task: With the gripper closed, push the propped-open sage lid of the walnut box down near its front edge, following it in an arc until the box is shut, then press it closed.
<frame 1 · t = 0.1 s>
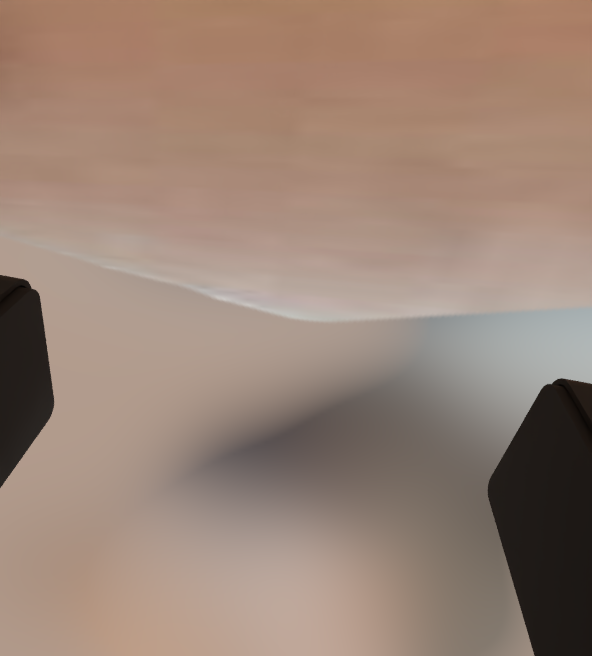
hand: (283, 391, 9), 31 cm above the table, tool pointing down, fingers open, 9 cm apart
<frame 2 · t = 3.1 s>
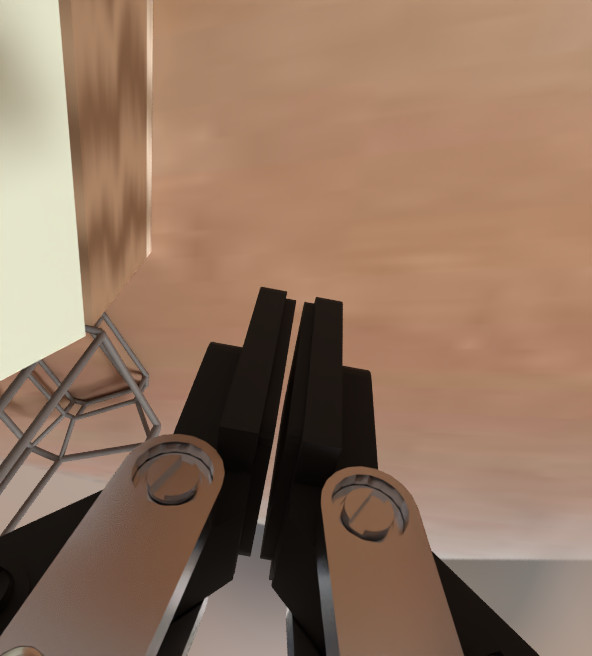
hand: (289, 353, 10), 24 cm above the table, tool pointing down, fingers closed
geometric lantern: (82, 363, 43), on the table
walnut box: (21, 63, 30), on the table
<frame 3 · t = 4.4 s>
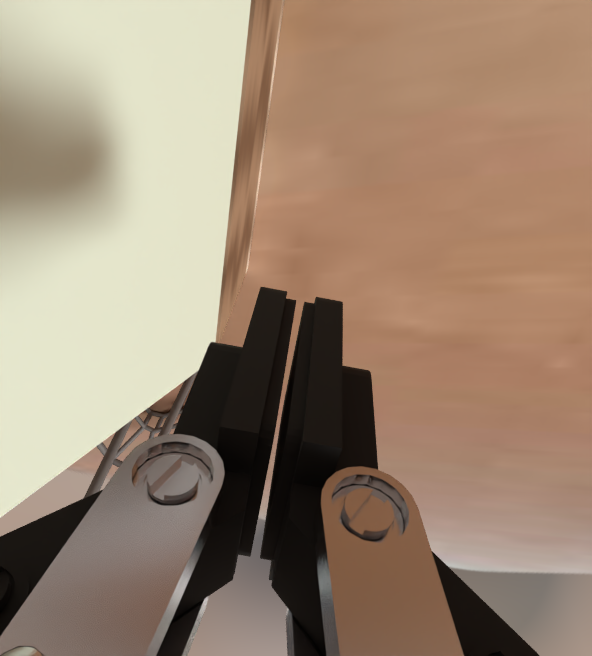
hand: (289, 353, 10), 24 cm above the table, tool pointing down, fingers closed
geometric lantern: (163, 376, 43), on the table
walnut box: (138, 81, 30), on the table
lid: (65, 189, 15), point 18 cm above the table, hinge at 65.0°
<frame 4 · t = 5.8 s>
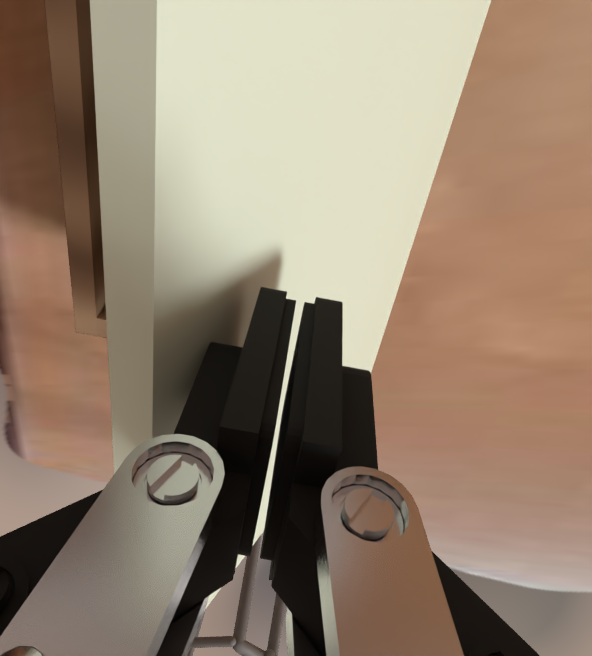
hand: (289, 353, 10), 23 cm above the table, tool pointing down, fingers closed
geometric lantern: (256, 402, 43), on the table
walnut box: (270, 114, 30), on the table
lid: (331, 255, 15), point 18 cm above the table, hinge at 65.0°, touching gripper
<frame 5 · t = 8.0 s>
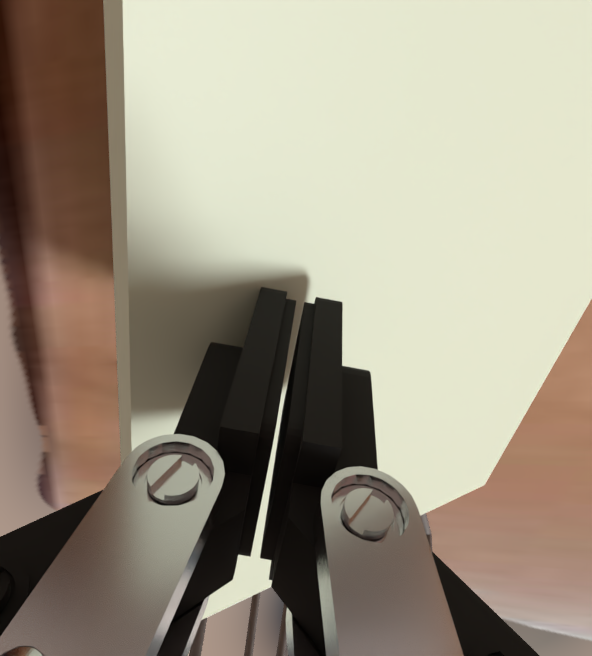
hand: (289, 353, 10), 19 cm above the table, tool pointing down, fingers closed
geometric lantern: (318, 455, 39), on the table
lid: (426, 300, 13), point 15 cm above the table, hinge at 34.8°, touching gripper
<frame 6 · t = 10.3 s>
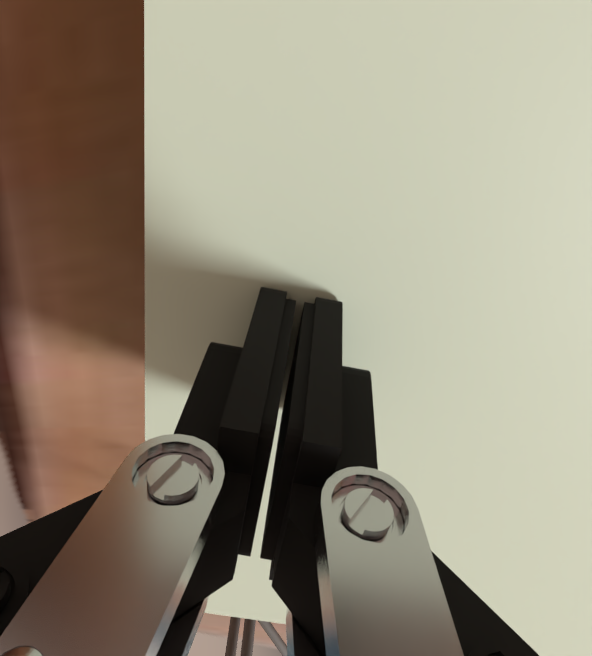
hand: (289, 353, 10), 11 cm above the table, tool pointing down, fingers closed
geometric lantern: (354, 546, 33), on the table
lid: (511, 376, 11), point 11 cm above the table, hinge at 1.6°, touching gripper
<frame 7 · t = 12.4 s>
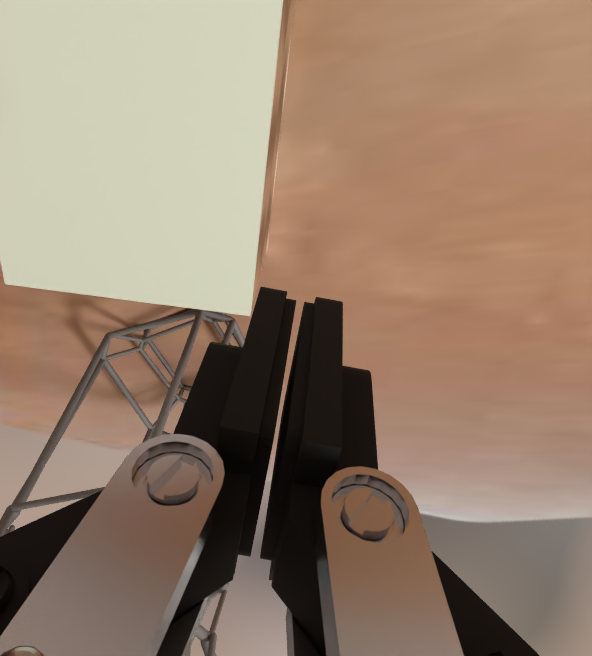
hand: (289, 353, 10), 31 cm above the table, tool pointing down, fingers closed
geometric lantern: (193, 353, 49), on the table
walnut box: (174, 96, 36), on the table
lid: (123, 122, 27), point 11 cm above the table, hinge at 1.5°
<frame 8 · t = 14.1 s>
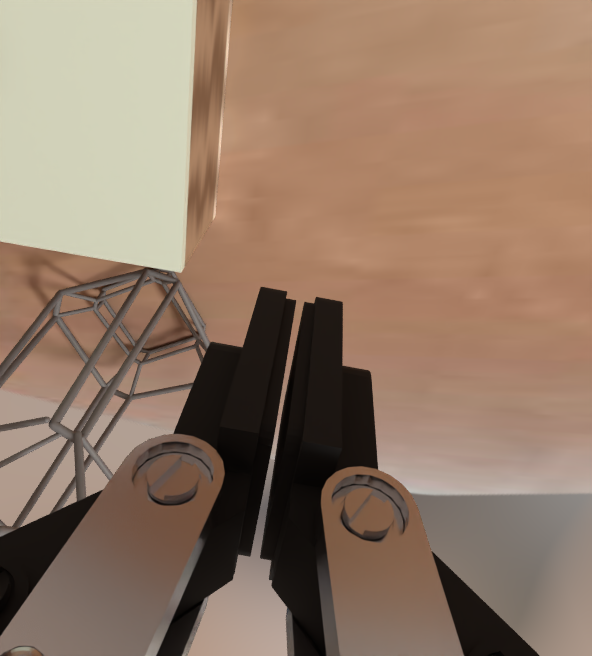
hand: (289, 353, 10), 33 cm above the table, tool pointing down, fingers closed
geometric lantern: (148, 316, 51), on the table
walnut box: (121, 59, 38), on the table
lid: (52, 77, 29), point 11 cm above the table, hinge at 1.5°
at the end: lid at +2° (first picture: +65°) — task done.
